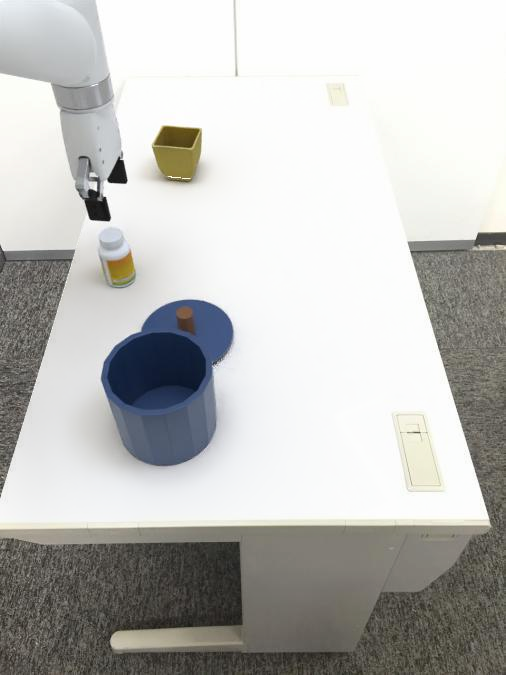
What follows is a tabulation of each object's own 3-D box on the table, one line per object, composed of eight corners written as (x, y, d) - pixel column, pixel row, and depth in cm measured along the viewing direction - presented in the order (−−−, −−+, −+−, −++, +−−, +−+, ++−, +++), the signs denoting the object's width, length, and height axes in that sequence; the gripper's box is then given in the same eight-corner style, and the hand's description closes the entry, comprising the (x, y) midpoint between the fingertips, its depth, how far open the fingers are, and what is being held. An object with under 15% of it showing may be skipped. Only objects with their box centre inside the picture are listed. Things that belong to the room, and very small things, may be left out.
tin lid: (158, 386, 80) (153, 362, 75) (130, 320, 88) (124, 295, 84) (248, 354, 84) (248, 330, 79) (213, 294, 92) (211, 269, 88)
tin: (135, 481, 70) (118, 431, 60) (109, 402, 78) (89, 347, 68) (231, 443, 73) (229, 390, 64) (196, 371, 81) (189, 315, 72)
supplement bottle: (142, 275, 96) (133, 231, 88) (122, 292, 93) (111, 249, 85) (119, 264, 97) (109, 220, 90) (99, 281, 94) (86, 237, 87)
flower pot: (156, 184, 114) (150, 145, 108) (167, 162, 120) (162, 124, 113) (196, 188, 114) (193, 149, 107) (205, 165, 119) (202, 127, 112)
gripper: (76, 60, 75) (101, 168, 88) (30, 120, 64) (67, 234, 77) (128, 62, 75) (146, 171, 88) (91, 123, 63) (118, 237, 76)
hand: (109, 200), depth 82 cm, fingers open, 9 cm apart
